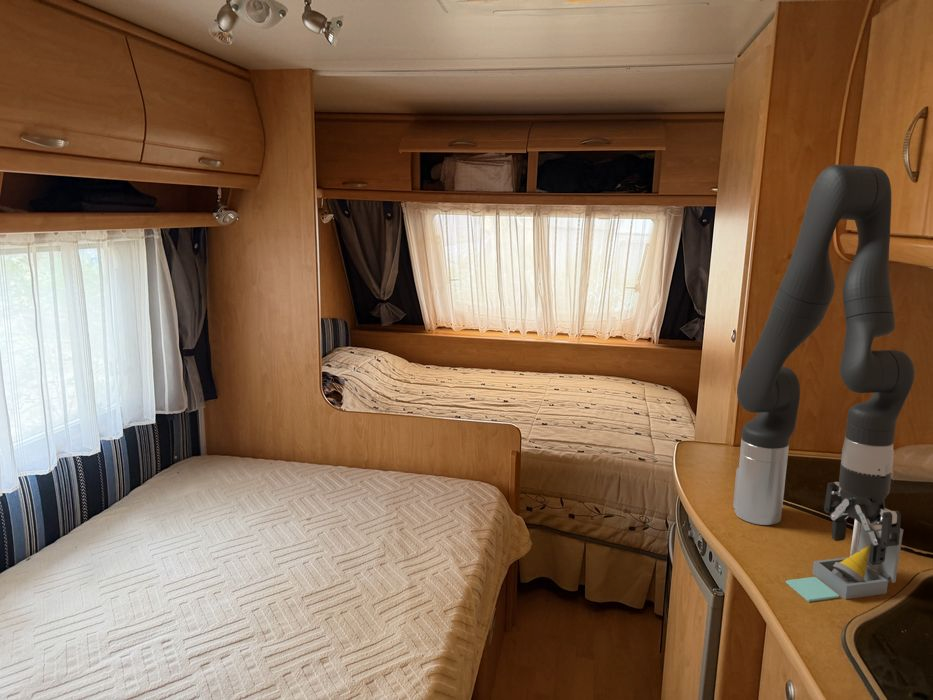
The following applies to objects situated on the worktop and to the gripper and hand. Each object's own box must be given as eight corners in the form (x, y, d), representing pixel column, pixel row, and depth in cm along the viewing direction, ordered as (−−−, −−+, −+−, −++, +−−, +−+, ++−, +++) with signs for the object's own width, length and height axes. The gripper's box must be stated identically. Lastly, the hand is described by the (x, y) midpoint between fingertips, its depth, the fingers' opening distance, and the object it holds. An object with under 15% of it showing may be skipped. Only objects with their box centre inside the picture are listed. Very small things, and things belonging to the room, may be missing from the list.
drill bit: (820, 580, 120) (851, 537, 122) (849, 601, 118) (880, 557, 119) (826, 577, 115) (859, 532, 117) (856, 598, 113) (889, 553, 114)
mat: (785, 582, 119) (785, 580, 119) (815, 578, 120) (815, 576, 120) (808, 601, 113) (808, 599, 113) (839, 597, 114) (839, 595, 114)
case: (804, 567, 123) (811, 508, 121) (852, 561, 125) (860, 503, 123) (845, 599, 114) (853, 535, 111) (896, 592, 115) (906, 529, 113)
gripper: (817, 452, 119) (809, 535, 123) (880, 482, 106) (869, 575, 109) (853, 448, 121) (844, 530, 124) (920, 478, 107) (908, 569, 110)
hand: (856, 551), depth 116 cm, fingers open, 8 cm apart
